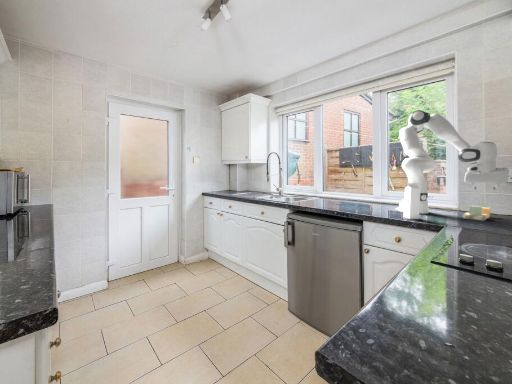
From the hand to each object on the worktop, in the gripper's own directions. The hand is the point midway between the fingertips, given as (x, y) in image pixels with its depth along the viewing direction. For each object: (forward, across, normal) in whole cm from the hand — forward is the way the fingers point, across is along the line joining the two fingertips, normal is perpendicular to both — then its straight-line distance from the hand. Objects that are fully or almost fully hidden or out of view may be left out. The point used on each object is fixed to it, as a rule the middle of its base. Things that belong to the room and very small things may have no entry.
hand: (484, 189), depth 156 cm
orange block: (+18, -1, -2) cm, 18 cm away
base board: (+17, +5, +8) cm, 20 cm away
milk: (+17, +38, +29) cm, 50 cm away
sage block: (+15, +4, +8) cm, 17 cm away
